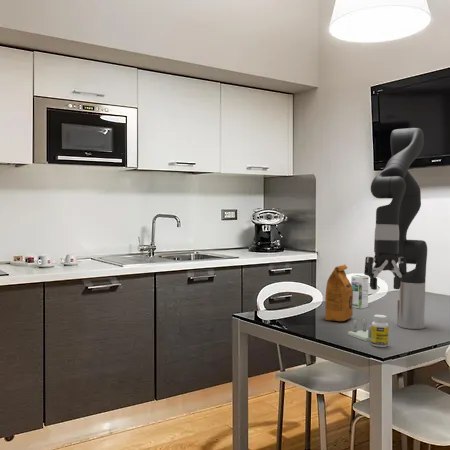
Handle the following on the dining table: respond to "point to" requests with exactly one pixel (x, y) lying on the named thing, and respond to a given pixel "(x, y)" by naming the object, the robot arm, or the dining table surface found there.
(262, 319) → the dining table surface
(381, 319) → the supplement bottle
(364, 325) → the peg board
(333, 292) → the coffee package
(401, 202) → the robot arm
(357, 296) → the syrup box
